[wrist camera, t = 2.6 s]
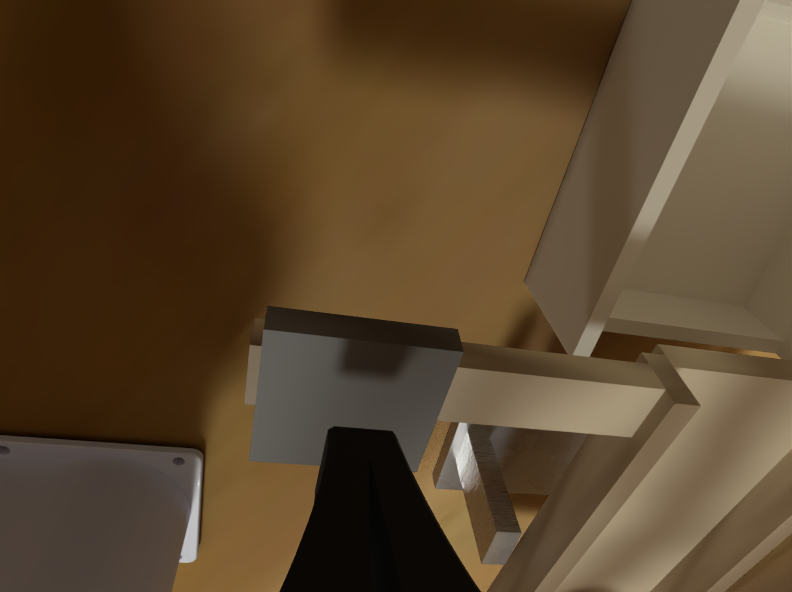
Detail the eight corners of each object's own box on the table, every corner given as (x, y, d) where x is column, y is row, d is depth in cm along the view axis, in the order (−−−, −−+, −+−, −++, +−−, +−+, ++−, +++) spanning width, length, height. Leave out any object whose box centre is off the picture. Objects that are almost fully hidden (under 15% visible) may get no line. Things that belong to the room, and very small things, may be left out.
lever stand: (432, 475, 27) (455, 592, 22) (465, 384, 24) (500, 495, 19) (643, 489, 30) (707, 598, 25) (696, 407, 27) (782, 512, 22)
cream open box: (524, 281, 22) (570, 359, 18) (646, -38, 16) (757, -37, 12) (739, 312, 24) (827, 388, 20) (913, 37, 18) (1088, 61, 14)
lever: (226, 633, 26) (212, 722, 23) (263, 255, 14) (245, 346, 11) (591, 635, 29) (618, 711, 27) (875, 340, 17) (975, 424, 15)
